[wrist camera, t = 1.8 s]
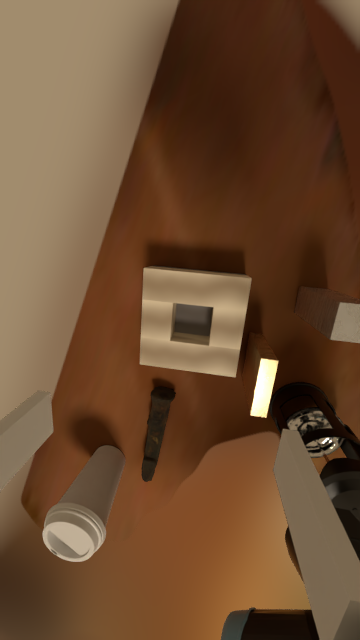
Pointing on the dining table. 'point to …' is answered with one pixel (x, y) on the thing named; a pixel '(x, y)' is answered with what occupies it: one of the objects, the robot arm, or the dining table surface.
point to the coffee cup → (85, 507)
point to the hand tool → (156, 429)
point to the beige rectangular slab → (259, 374)
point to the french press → (324, 442)
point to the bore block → (193, 319)
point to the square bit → (330, 313)
